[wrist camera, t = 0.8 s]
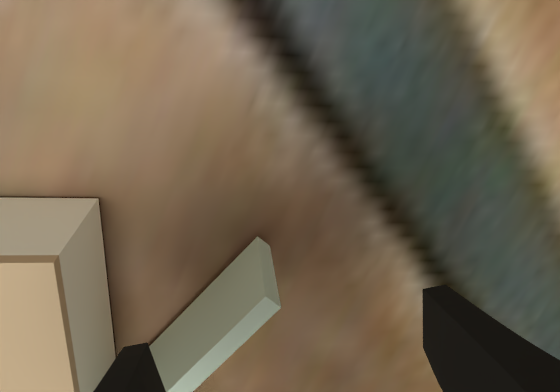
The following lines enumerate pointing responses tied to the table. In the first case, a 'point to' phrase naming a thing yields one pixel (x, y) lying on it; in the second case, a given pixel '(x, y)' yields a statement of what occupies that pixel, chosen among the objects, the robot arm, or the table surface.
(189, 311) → the door
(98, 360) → the cabinet
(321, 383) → the table surface
